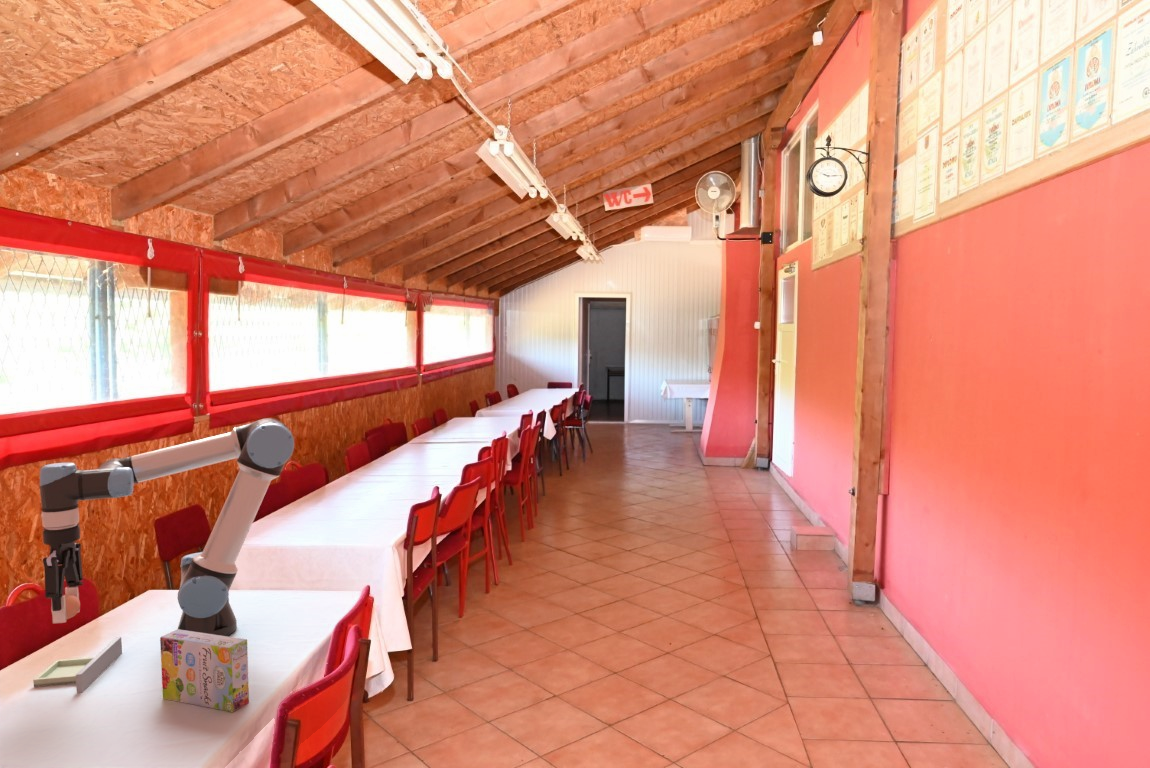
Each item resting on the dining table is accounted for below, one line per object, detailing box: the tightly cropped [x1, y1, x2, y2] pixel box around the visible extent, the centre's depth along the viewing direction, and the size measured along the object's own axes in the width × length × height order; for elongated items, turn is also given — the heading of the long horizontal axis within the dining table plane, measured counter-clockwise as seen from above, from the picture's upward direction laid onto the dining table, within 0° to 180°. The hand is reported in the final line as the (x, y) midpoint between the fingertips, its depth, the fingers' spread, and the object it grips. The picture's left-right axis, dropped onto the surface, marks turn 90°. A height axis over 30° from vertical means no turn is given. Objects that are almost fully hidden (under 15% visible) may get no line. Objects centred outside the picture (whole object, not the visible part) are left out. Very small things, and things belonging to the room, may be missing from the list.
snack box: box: [159, 628, 250, 713], centre depth 170 cm, size 21×6×15 cm, turn 71°
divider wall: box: [75, 636, 123, 694], centre depth 185 cm, size 1×22×4 cm, turn 10°
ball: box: [50, 594, 81, 620], centre depth 183 cm, size 6×6×6 cm
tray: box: [33, 656, 95, 688], centre depth 184 cm, size 11×11×2 cm
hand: (66, 617), depth 183 cm, fingers closed on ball, 6 cm apart
